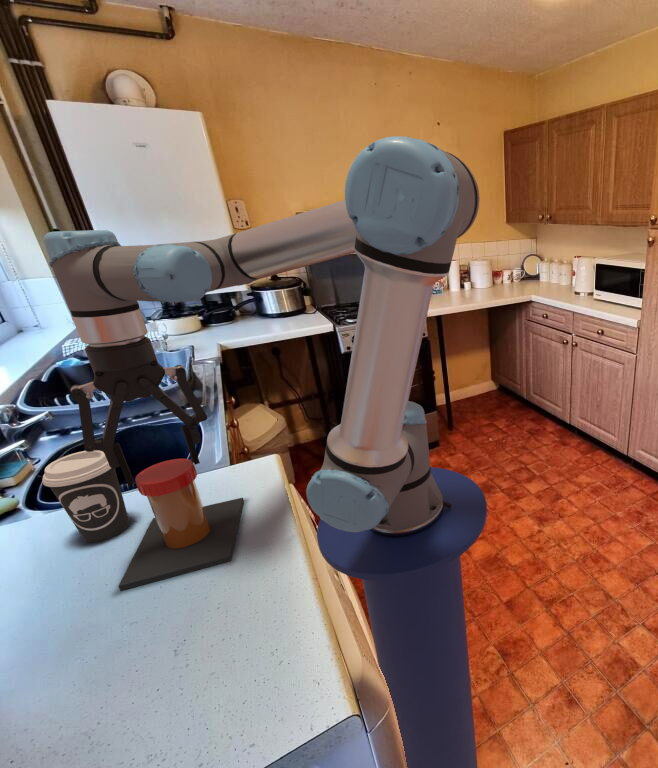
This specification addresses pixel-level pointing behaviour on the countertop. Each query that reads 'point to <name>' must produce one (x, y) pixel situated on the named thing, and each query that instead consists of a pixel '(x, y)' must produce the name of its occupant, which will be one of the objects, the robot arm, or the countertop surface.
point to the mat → (185, 548)
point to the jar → (180, 517)
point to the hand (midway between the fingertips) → (164, 470)
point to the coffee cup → (89, 494)
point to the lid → (166, 477)
